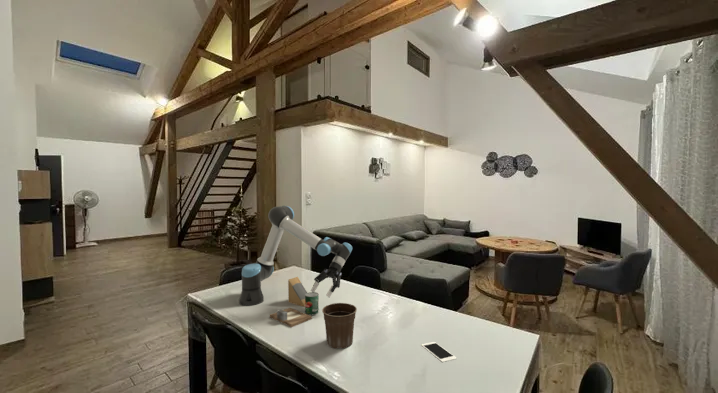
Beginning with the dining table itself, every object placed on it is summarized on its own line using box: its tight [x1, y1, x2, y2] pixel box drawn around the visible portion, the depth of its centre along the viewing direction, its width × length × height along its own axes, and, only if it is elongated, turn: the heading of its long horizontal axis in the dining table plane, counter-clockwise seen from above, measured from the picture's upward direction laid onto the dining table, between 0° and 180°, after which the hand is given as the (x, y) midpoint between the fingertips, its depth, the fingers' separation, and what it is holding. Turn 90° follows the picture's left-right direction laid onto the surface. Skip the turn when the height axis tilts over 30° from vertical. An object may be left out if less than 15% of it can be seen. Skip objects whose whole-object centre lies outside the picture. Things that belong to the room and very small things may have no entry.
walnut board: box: [269, 307, 313, 328], centre depth 175 cm, size 20×14×6 cm
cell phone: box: [420, 341, 458, 363], centre depth 139 cm, size 8×16×1 cm, turn 22°
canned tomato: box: [304, 291, 319, 316], centre depth 183 cm, size 8×8×11 cm
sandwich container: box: [287, 276, 308, 308], centre depth 200 cm, size 9×15×15 cm, turn 56°
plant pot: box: [321, 302, 358, 350], centre depth 146 cm, size 16×16×16 cm
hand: (319, 294), depth 187 cm, fingers open, 13 cm apart
